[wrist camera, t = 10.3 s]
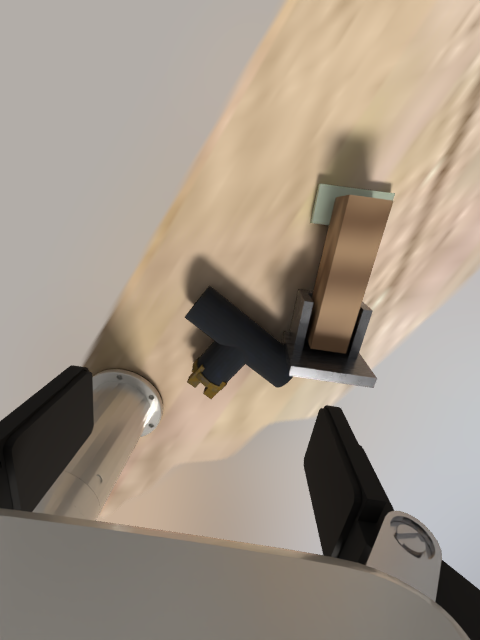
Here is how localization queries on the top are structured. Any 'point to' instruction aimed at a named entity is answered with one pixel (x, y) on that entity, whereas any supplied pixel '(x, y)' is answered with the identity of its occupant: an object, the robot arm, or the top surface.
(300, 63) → the top surface
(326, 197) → the pad
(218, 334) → the pipe connector
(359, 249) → the walnut rail
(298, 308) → the grey metal bracket
